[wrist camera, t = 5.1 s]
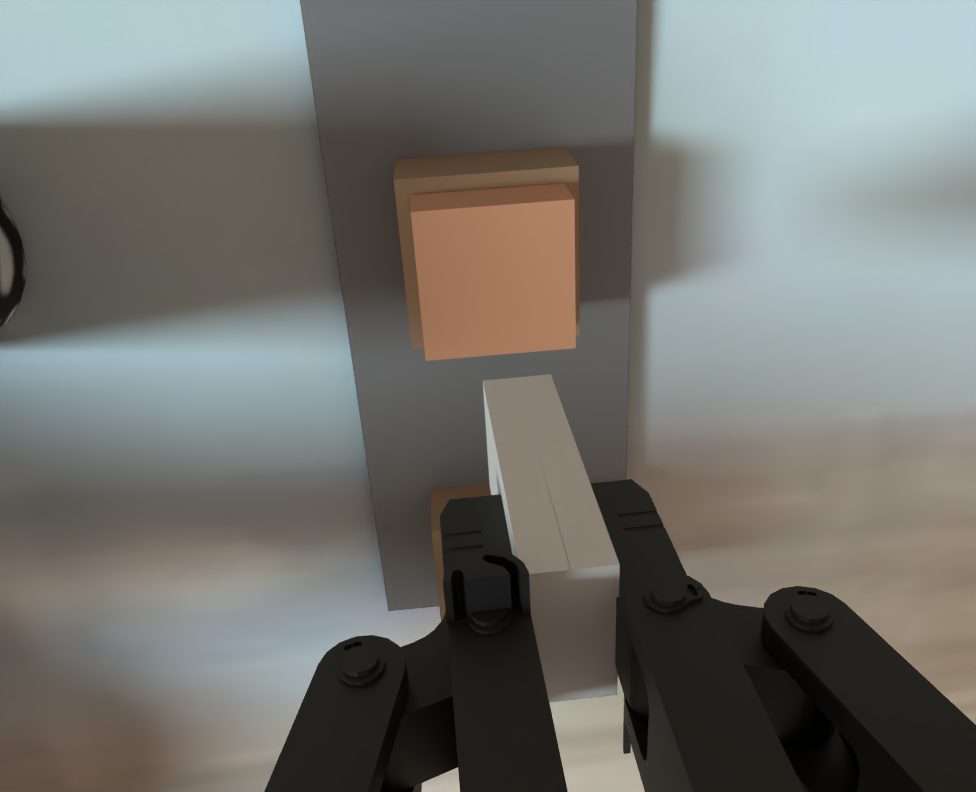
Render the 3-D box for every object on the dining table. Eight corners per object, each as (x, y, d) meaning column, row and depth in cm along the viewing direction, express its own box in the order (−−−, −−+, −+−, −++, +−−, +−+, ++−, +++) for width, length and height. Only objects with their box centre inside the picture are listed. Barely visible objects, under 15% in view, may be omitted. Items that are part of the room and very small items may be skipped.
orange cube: (423, 303, 33) (425, 360, 28) (410, 172, 30) (410, 211, 26) (553, 293, 33) (575, 348, 28) (550, 161, 31) (574, 199, 26)
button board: (388, 599, 40) (386, 658, 37) (250, -366, 24) (224, -416, 21) (619, 576, 41) (638, 633, 38) (639, -384, 24) (675, -436, 21)
